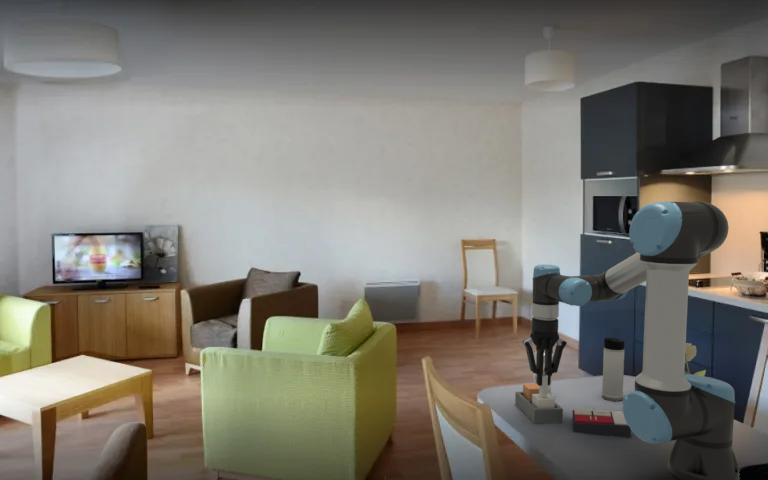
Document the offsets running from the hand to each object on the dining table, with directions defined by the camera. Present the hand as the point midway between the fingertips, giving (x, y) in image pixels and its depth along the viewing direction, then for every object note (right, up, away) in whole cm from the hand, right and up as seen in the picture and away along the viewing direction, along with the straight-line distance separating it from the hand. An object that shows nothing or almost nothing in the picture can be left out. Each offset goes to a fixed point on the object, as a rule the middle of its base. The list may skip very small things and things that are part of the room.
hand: (543, 395), depth 179 cm
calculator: (+14, -8, -7) cm, 18 cm away
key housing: (0, -6, +4) cm, 8 cm away
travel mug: (+27, -6, +18) cm, 33 cm away
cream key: (0, -4, 0) cm, 4 cm away
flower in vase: (+39, -8, -9) cm, 41 cm away
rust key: (-1, -3, +8) cm, 8 cm away
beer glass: (+5, -5, +19) cm, 20 cm away
